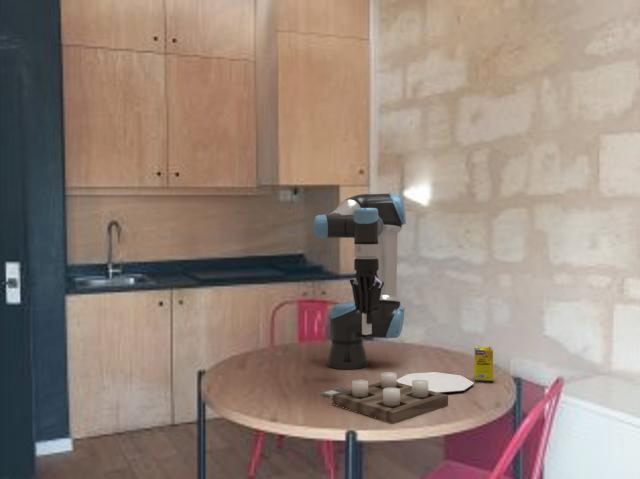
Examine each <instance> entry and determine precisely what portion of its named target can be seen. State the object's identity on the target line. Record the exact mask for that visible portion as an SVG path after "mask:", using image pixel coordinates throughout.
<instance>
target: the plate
mask: <svg viewBox="0 0 640 479" xmlns="http://www.w3.org/2000/svg"><path fill="white" fill-rule="evenodd" d="M413 380H426V381H428V390H429V391H433V392H437V393H441V394H447V393H462V392H465V391H466V390H467V389H469V388H470V387H472V386H474V382H473V381H471V380H470V379H468V378H466V377H465V376H463V375H459V374H453V373H443V372H435V371H431V372H417V373H407V374H405V375H404V376H401V377H400V378H398V379H397V383H401V384H405V385H409V386H412V381H413Z"/></svg>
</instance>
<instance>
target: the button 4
mask: <svg viewBox="0 0 640 479" xmlns="http://www.w3.org/2000/svg"><path fill="white" fill-rule="evenodd" d="M412 396H414V397H427V396H428V381H426V380H413V381H412Z"/></svg>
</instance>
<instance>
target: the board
mask: <svg viewBox="0 0 640 479" xmlns="http://www.w3.org/2000/svg"><path fill="white" fill-rule="evenodd" d="M396 388H398V389H400V405H398V406H386V405H384V404H383V389H384V388H381V381H380V382H376V383H371V384H368V396H366V397H355V396H352V389H349V391H345V392H341V393H338V394H334V395H333V398H332V405H333V404H335V405H338V406H337V407H339V406H341V407H340V408H342V407H344V408H343V409H345V408H347V409H346V410H348V409H350V410H349V411H351V410H353V411H352V412H355V411H357V412H356V413H358V412H360V413H359V414H361V413H363V414H362V415H364V414H366V415H365V416H367V415H369V416H368V417H371V416H372V417H371V418H374V417H376V418H375V419H377V418H379V419H378V420H380V419H382V420H381V421H383V420H385V421H384V422H387V421H388V422H387V423H390V422H391V423H390V424H396V423H399V422H402V421H406V420H408V419H411V418H414V417H417V416H421V415H423V414H426V413H429V412H432V411H435V410H439V409H441V408H444V407H447V406H449V395H448V394H446V393H437V392H433V391H429V390H428V396H427V397H414V396H412V386H409V385H405V384H401V383H397V387H396ZM335 405H334V406H335ZM395 422H396V423H395Z"/></svg>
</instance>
